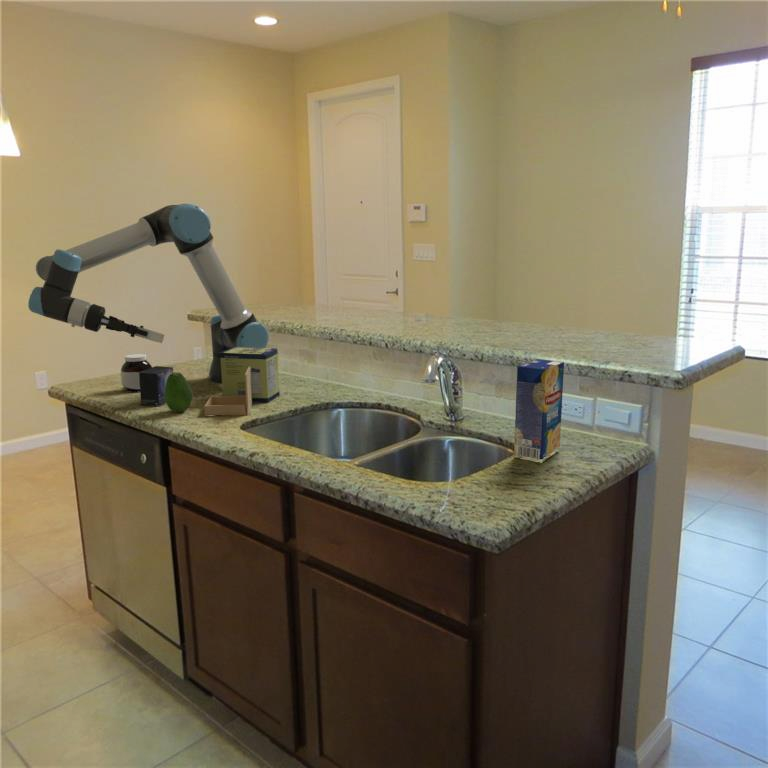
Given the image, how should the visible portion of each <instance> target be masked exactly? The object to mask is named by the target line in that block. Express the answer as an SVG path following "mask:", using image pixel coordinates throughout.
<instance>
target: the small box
mask: <svg viewBox="0 0 768 768" xmlns="http://www.w3.org/2000/svg"><path fill="white" fill-rule="evenodd" d="M172 373H174V367H173V366H161V365H159V366H158V365H154V366H152V368H149V369H147V370H144V371H141V372H139V380H140V392H139V393H140V395H139V396H140V406H150V405H160V406H162V405H163V404H162V403H164V404H166V403H165V402H166V401H165V396H164V393H165V387H166V382H167V379H168V377H169V375H170V374H172ZM161 404H162V405H161Z"/></svg>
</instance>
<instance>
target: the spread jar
mask: <svg viewBox="0 0 768 768" xmlns="http://www.w3.org/2000/svg"><path fill="white" fill-rule="evenodd" d="M124 361H125V362H123V364H122V366H121V369H120V376H121V377H120V378H121V384H122V387H123V388H124V389H125V390H126V391H127V392H129V391H131V392H130V393H139V392H138V391H140V380H139V372H141V371H144V370H147V369H149V368H152V367H153V366H152V364H151V363H150V362H149V361H148V360H147V354H145V353H144V354H143V353H134V354H127V355H125V356H124Z"/></svg>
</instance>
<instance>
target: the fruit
mask: <svg viewBox="0 0 768 768" xmlns="http://www.w3.org/2000/svg"><path fill="white" fill-rule="evenodd" d="M164 396H165V401H166V403H165V404H166V406H167V407H168V409H169V410H170V411H172V412H173V413H182V412H184V411H186V410H188V409H189V408H190V406H191V404H192V402H193V397H194V395H193V391H192V388H191V386H190V384H189V382H188V380H187V379H186V377H185V376H184V375H183V374H182V373H181V372H176V371H174V372H173V373H172V374H170V375H169V377H168V379H167V382H166V387H165V393H164Z"/></svg>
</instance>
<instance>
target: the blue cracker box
mask: <svg viewBox="0 0 768 768" xmlns="http://www.w3.org/2000/svg"><path fill="white" fill-rule="evenodd" d="M564 370H565V361H558V360H549V359H548V360H547V359H541V358H540V359H539V358H536V359H533V360H530V361H526V362H524V363H522V364H519V365H518V366H517V368H516V392H515V393H516V395H515V396H516V399H515V420H514V421H515V423H514V449H513V450H514V452H513V454H514V455H513V457H514V456H515V455H518V456H525V457H531V458H537V459H543V458H544V457H546V456H547V455H549V454H550V453H552V452H553V451H554V450H556V449H557V448H558V447H560V448H561V430H562V428H561V427H562V410H563V389H564V374H565V373H564Z"/></svg>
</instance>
